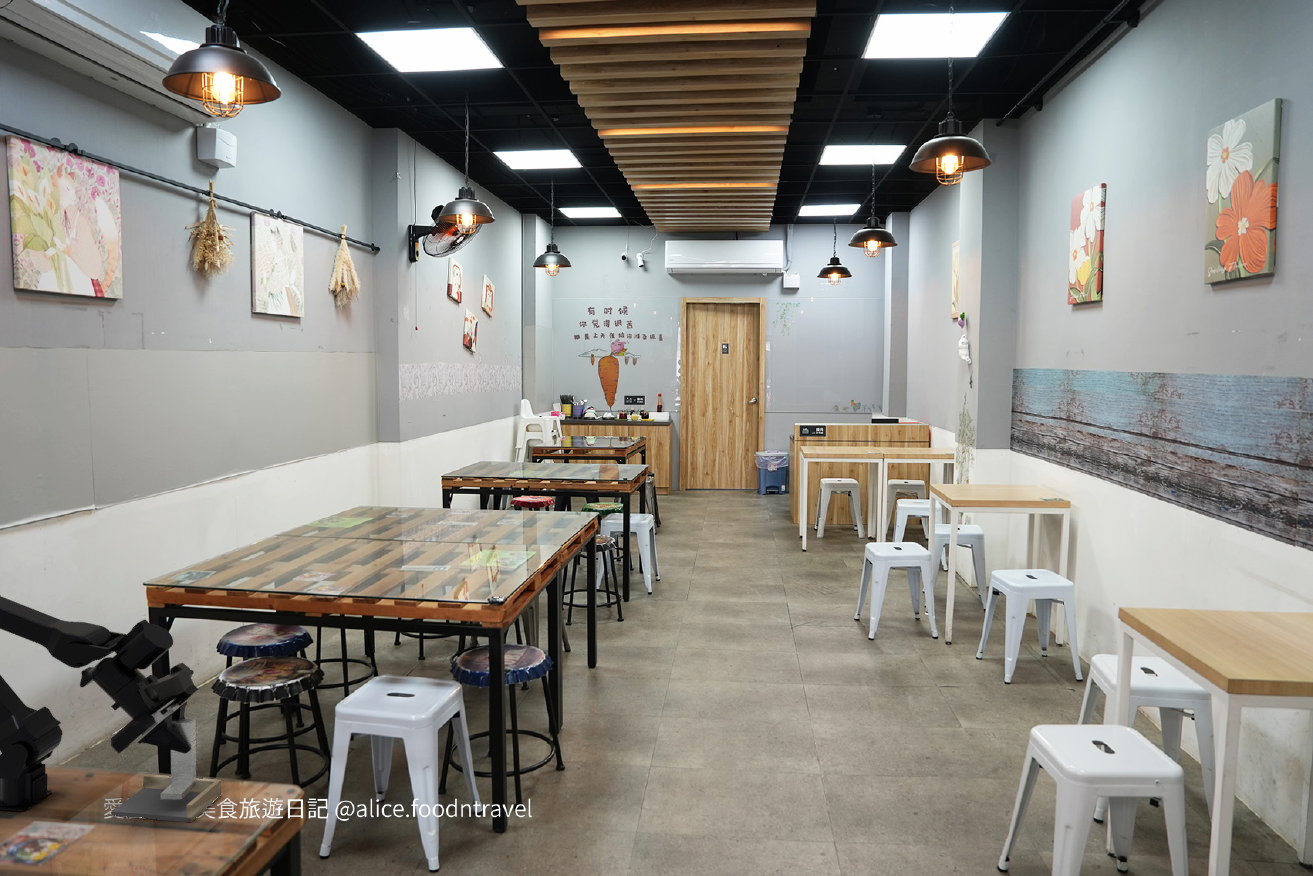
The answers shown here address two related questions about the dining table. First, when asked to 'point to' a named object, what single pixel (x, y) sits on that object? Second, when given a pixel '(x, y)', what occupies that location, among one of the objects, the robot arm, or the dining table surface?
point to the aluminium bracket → (183, 762)
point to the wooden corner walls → (205, 786)
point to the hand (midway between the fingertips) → (191, 749)
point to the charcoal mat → (156, 806)
